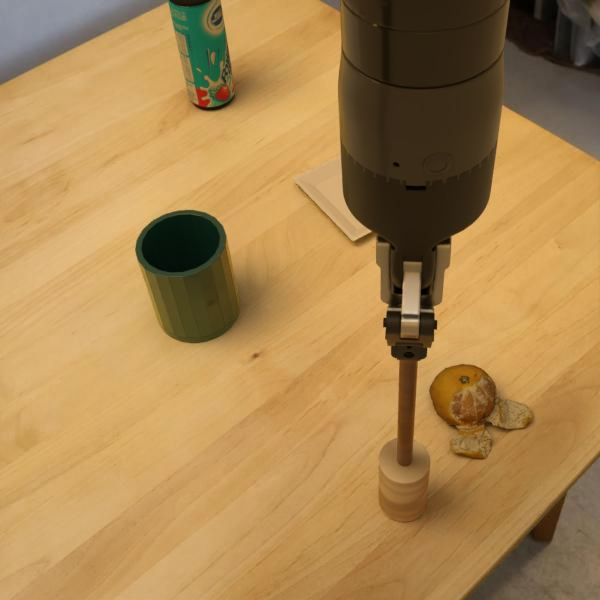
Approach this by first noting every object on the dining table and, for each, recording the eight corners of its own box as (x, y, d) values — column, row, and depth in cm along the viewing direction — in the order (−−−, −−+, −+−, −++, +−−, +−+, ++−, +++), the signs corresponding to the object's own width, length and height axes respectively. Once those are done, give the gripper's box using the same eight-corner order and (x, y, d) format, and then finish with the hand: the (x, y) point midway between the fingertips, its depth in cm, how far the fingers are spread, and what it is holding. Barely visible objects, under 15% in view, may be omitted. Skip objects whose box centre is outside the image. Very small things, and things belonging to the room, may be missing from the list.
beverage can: (221, 116, 105) (201, 8, 94) (180, 105, 107) (156, -2, 96) (244, 88, 108) (227, -20, 97) (204, 78, 110) (183, -29, 99)
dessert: (292, 185, 97) (289, 153, 93) (378, 142, 100) (378, 109, 96) (353, 248, 90) (351, 216, 86) (443, 200, 93) (445, 167, 90)
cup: (203, 356, 83) (184, 291, 75) (140, 318, 86) (116, 252, 78) (256, 299, 86) (244, 232, 79) (194, 265, 90) (177, 197, 82)
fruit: (468, 470, 73) (471, 449, 70) (405, 404, 77) (406, 382, 75) (538, 418, 76) (544, 396, 73) (473, 357, 80) (476, 334, 77)
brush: (410, 531, 70) (423, 324, 48) (369, 505, 72) (364, 294, 50) (435, 494, 72) (458, 279, 50) (395, 469, 73) (401, 251, 52)
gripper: (350, 35, 45) (357, 254, 59) (325, 225, 37) (341, 430, 50) (495, 36, 44) (469, 258, 58) (504, 230, 36) (471, 438, 49)
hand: (409, 337), depth 54 cm, fingers closed on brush, 2 cm apart
